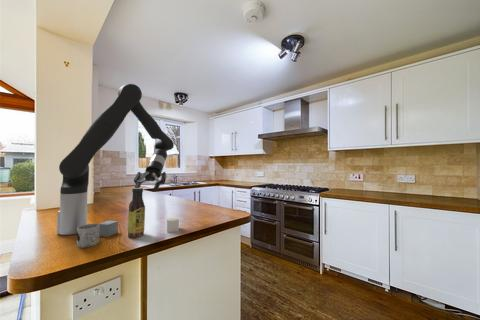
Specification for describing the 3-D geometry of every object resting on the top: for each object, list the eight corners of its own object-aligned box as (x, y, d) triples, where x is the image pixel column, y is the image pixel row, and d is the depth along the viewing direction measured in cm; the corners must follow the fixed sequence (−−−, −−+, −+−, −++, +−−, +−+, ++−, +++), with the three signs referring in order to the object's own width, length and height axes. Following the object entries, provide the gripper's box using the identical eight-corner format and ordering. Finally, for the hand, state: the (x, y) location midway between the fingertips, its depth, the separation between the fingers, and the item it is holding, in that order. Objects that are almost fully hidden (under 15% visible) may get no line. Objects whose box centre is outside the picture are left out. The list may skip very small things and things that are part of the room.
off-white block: (166, 232, 86) (167, 221, 86) (166, 228, 91) (166, 218, 91) (178, 231, 88) (178, 219, 88) (177, 227, 93) (178, 217, 93)
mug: (80, 242, 75) (80, 224, 75) (101, 239, 78) (101, 222, 78) (70, 253, 66) (70, 233, 66) (94, 249, 69) (94, 230, 69)
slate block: (97, 235, 82) (98, 223, 82) (108, 231, 87) (108, 220, 87) (107, 236, 81) (107, 224, 81) (117, 232, 86) (117, 221, 86)
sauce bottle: (137, 238, 78) (137, 189, 79) (123, 237, 80) (124, 188, 80) (147, 233, 85) (148, 187, 85) (135, 232, 86) (136, 187, 86)
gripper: (139, 160, 100) (127, 184, 88) (168, 160, 100) (159, 184, 88) (144, 170, 105) (133, 194, 93) (171, 170, 105) (163, 194, 94)
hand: (145, 189), depth 91 cm, fingers open, 8 cm apart
